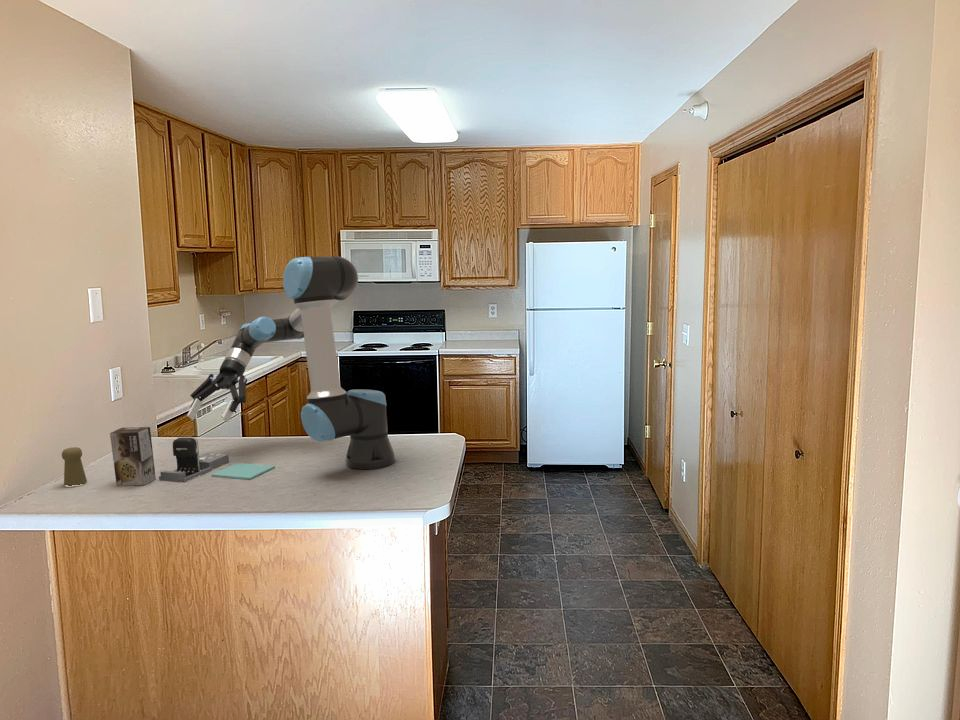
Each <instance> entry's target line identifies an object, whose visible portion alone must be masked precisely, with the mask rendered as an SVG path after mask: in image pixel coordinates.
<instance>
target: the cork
mask: <svg viewBox="0 0 960 720" xmlns="http://www.w3.org/2000/svg"><path fill="white" fill-rule="evenodd" d="M82 457H83V451H82V449H81V448H80V447H73V446H72V447H68V448H65V449H63V450H62V452H61V458H62V459H63V461H64V467H63V468H64V469H63V470H64V471H63V480H64V481H63V486H64V485H68V486H72V485H80V484H84V483H86V482H87V483H88V479H87V476H86V473H85V469H84V465H83V462H82ZM87 483H86V484H87ZM84 485H85V484H84Z"/></svg>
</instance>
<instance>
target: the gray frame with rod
mask: <svg viewBox="0 0 960 720" xmlns="http://www.w3.org/2000/svg"><path fill="white" fill-rule="evenodd" d="M229 462H230V458H229V454H225V453H216V452H215V453H214V452H208V453H204V454H202V455H199V464H200V469H204V470H200V471H199V472H197V473H195V474H192V475H186V472H177V468H176V469H174V470H165V469H164V470H162V471H160V473H159V474H160V475H159V476H158V480H159V481H167V480H170V481H171V482H178V481H182V482H183V483H186V482H188V480H189V481H191V480H193V479H195V478H194V477H196V478H197V476H198V477H200V476H203V475H205V474H206V473H209V472H212V470H214V469H217V468H218V467H221V466H223V465H225V464H228V463H229ZM202 474H203V475H202ZM199 475H200V476H199ZM192 478H193V479H192ZM190 479H191V480H190ZM185 481H186V482H185ZM182 482H181V483H182Z"/></svg>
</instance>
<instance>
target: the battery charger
mask: <svg viewBox="0 0 960 720" xmlns="http://www.w3.org/2000/svg"><path fill="white" fill-rule="evenodd" d="M172 455H173V457H175V459H176V465H177V466H176V469H177V472H186V476H190V475H192V474H195V473H197V472H199V471H201V470H200V464H199V456H200V449H199V442H198V439H197V438H196V437H194V436H180V437H177V438H176V439H174V440H173V442H172Z"/></svg>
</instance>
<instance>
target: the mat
mask: <svg viewBox="0 0 960 720" xmlns="http://www.w3.org/2000/svg"><path fill="white" fill-rule="evenodd" d="M273 468H274V469H275V468H276V467H275V465H267V464H255V463H253V464H252V463H242V462H236V463H235V464H232V465H230V466H228V467H226V468H223V469H221V470H218V471H216V472H214V473H212V474H211V477H212V478H213V477H214V478H225V479H226V478H227V479H237V480H248V481H251V480H253V479H255V478H257V477H260V476H261V475H263V474H265V472H266V473H267V471H268V472H270V471H272V470H274V469H273ZM271 469H272V470H271ZM269 470H270V471H269Z"/></svg>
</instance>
